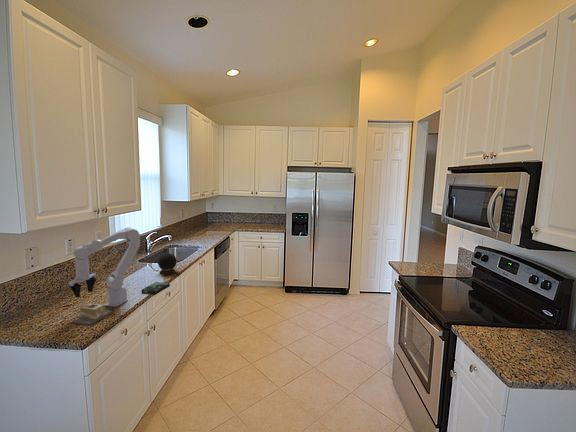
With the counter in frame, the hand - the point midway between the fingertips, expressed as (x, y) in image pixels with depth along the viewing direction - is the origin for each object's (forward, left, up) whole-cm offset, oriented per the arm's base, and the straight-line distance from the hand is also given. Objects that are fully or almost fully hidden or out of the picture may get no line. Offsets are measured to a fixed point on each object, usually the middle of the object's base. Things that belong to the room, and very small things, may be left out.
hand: (84, 294), depth 156 cm
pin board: (+5, +10, -9) cm, 15 cm away
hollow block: (+5, +10, -8) cm, 14 cm away
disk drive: (-37, +16, -10) cm, 41 cm away
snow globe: (-69, +3, -10) cm, 70 cm away
